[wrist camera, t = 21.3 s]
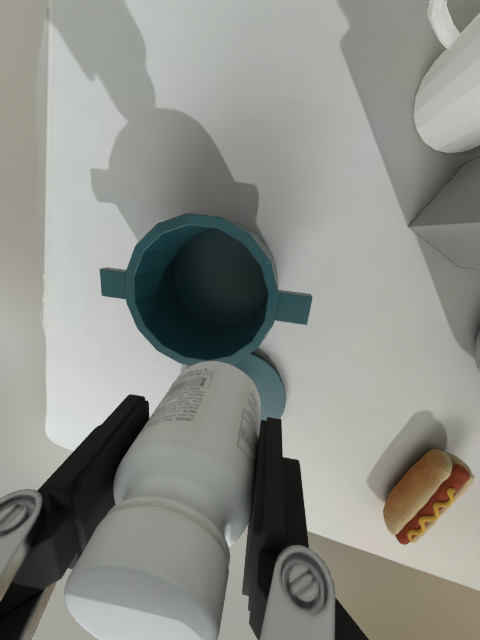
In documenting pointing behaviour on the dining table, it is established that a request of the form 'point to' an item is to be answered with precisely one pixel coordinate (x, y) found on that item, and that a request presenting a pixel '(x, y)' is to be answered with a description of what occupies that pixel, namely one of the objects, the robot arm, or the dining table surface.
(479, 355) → the vase
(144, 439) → the pill bottle
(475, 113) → the mug
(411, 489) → the food
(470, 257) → the perfume bottle
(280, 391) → the lid
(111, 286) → the pot
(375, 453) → the dining table surface
